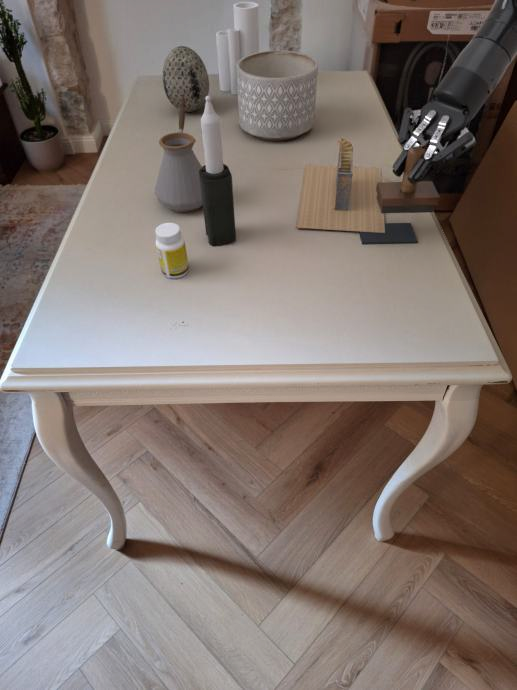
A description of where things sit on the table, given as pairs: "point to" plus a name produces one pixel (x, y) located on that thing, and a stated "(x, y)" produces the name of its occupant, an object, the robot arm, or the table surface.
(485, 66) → the robot arm
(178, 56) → the decorative egg
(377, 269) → the table surface
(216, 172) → the candle
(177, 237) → the supplement bottle
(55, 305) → the table surface
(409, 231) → the mat
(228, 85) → the vase
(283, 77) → the planter
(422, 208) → the brown block with cylinder
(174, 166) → the grey ribbed jar
